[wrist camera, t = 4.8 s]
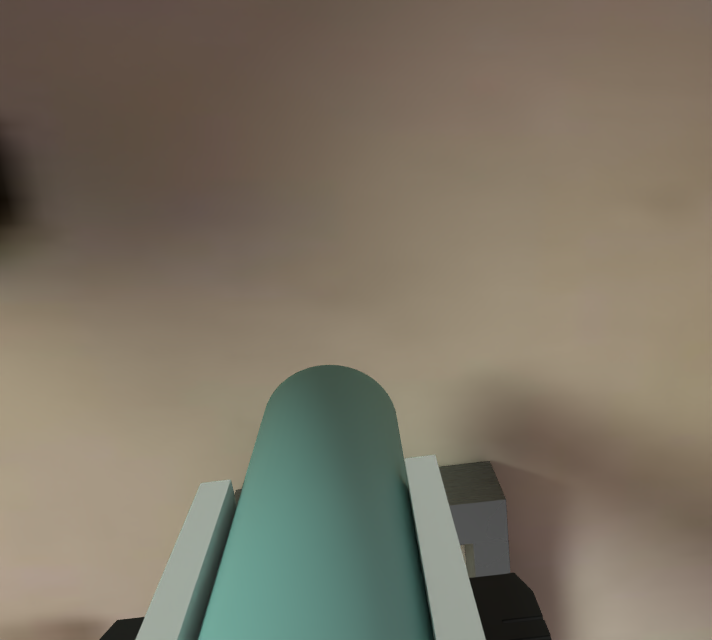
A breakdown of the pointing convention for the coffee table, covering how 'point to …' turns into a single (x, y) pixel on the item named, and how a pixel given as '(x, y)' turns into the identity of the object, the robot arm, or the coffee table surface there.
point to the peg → (322, 522)
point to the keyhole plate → (476, 516)
